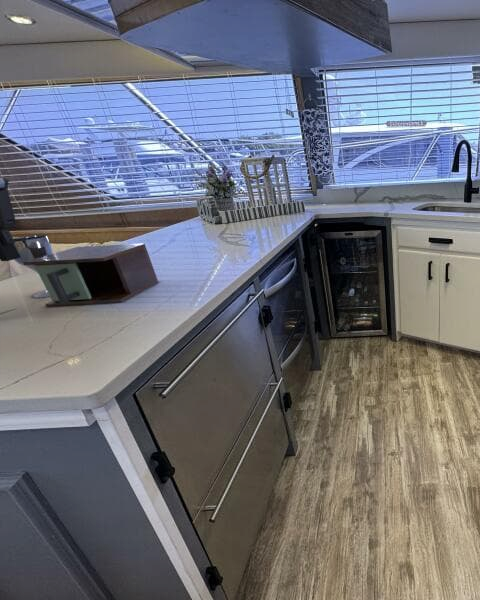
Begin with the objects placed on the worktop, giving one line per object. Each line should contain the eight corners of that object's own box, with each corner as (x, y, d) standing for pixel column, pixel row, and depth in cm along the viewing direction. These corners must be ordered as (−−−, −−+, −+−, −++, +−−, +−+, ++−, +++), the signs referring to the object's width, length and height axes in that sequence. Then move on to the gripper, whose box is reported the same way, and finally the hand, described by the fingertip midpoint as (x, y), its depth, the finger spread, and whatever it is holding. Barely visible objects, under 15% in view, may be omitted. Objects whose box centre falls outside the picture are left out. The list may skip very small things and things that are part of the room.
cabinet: (46, 306, 79) (22, 262, 74) (94, 285, 92) (76, 246, 88) (121, 302, 80) (103, 257, 75) (158, 282, 93) (144, 243, 88)
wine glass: (25, 296, 86) (-5, 241, 80) (62, 286, 93) (37, 234, 87) (40, 299, 83) (10, 242, 77) (78, 289, 90) (53, 235, 84)
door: (35, 308, 75) (14, 271, 71) (55, 300, 80) (37, 264, 76) (74, 306, 75) (55, 269, 72) (92, 297, 80) (76, 262, 76)
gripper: (2, 140, 65) (57, 253, 75) (-65, 143, 65) (-2, 256, 74) (-42, 137, 58) (24, 262, 68) (-118, 141, 58) (-40, 266, 67)
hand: (11, 259), depth 71 cm, fingers closed
